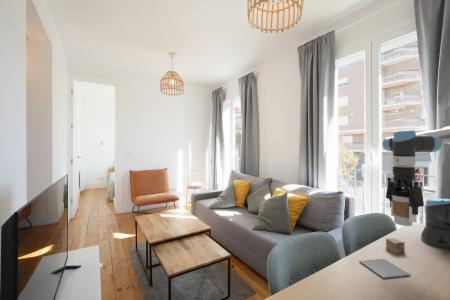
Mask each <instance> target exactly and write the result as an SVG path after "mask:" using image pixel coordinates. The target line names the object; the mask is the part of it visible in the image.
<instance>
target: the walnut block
mask: <svg viewBox="0 0 450 300" xmlns="http://www.w3.org/2000/svg"><path fill="white" fill-rule="evenodd" d="M405 245H406V244H405V242H404V241H402V240H400V239H397V238H396V237H391V238H385V249H386V250H388V251H390V252H391V253H393V254H403V253H405Z"/></svg>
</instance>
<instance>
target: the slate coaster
mask: <svg viewBox="0 0 450 300" xmlns="http://www.w3.org/2000/svg"><path fill="white" fill-rule="evenodd" d="M359 263H360V264H361V265H362V266H364V267H365V268H367V269H368V270H370V271H371V272H372V273H374V274H375V275H377V276H378V277H380V278H381V279H383V280H384V279H386V280H387V279H394V278H403V277H404V278H405V277H411V273H409V272H407V271H406V270H404V269H402V268H400V267H399V266H397V265H395V264H394V263H391V262H390V261H389V260H387V259H386V258H379V259H366V260H360V261H359Z"/></svg>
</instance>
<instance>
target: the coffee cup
mask: <svg viewBox="0 0 450 300" xmlns="http://www.w3.org/2000/svg"><path fill="white" fill-rule="evenodd" d="M413 192H414V191H412V192H411V193H413ZM391 195H392V197H393V199H392V203H393V212H394V216H393V220H394V221H393V222H394V223H395V224H396V225H398V226H399V225H400V226H403V227H405V226H406V227H412V226H413V222H409V206H411V203H410V201H409V198H410V195H409V192H406V191H405V190H404V188H401V190H399V191H396V190H395V189H392V192H391ZM414 204H415V203H414Z"/></svg>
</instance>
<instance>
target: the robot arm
mask: <svg viewBox="0 0 450 300" xmlns="http://www.w3.org/2000/svg"><path fill="white" fill-rule="evenodd" d="M445 144H448V145H450V125H448V126H445V127H443V128H440V129H435V130H434V129H433V130H428V131H423V132H422V131H421V132H417V133H416V131H415V130H413V129H409V130H407V129H406V130H405V129H404V130H395V131H394V132H393V136H388V137H387V136H386V137H385V138H384V140H382V147H383V149H384V150H385V151H387V152H391V153H392V165H393V166H392V175H393V177H387V179H386V180H387V186H386V193H385V198H386V199H387V200H389V207H390V216H392V217H394V212H393V203H392V199H393V197H392V195H391V192H392V189H395V190H396V191H399V190H401V188H404V190H405V191H406V192H409V195H410V198H409V201H410V203H411V206H409V222H412V223H417V221H418V220H417V218H418V215H419V207H425V208H424V209H425V211H424V212H425V213H424V215H425V217H424V218H425V225H424V227H423V230H422V232H421V234H420V239H421V241H422V242H423V243H425V244H426V245H430V246H433V247H436V248H440V249H444V250H450V198H427V199H426V201H425V204H424V196H423V189H422V186H423V182H422V181H417V180H415V176H416V167H415V166H416V153H435V152H439V150H441V148H442V147H443V145H445ZM412 191H414V192H413V193H411V192H412ZM414 203H415V204H414Z"/></svg>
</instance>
